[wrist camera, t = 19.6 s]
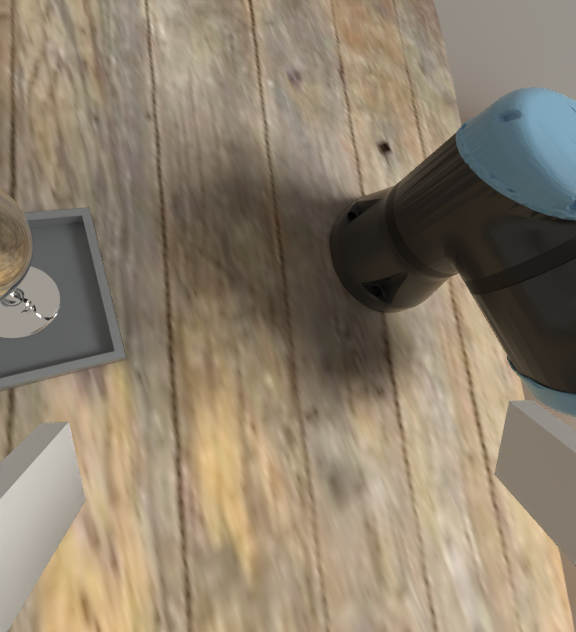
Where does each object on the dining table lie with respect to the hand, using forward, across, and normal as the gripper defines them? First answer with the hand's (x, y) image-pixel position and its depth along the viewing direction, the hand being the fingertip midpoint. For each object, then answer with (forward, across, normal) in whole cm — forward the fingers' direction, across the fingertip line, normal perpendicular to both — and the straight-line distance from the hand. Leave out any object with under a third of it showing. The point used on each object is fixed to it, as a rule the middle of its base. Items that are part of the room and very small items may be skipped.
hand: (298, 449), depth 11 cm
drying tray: (+22, -22, -1) cm, 31 cm away
